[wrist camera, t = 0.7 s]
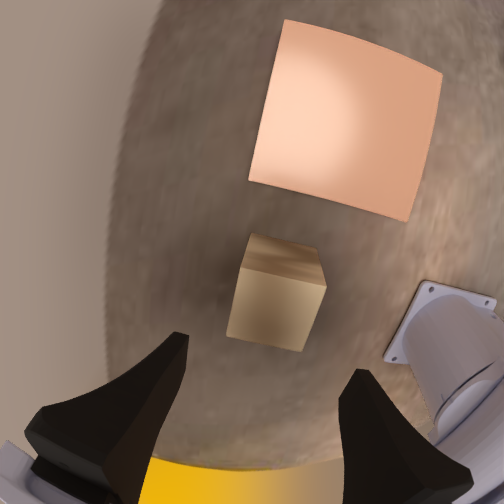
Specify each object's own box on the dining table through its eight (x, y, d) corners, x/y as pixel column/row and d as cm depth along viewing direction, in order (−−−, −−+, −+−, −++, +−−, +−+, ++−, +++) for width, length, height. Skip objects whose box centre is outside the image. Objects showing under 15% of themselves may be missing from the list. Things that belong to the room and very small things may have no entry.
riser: (429, 78, 15) (442, 74, 13) (396, 214, 18) (407, 222, 17) (284, 30, 15) (284, 19, 13) (251, 175, 18) (248, 180, 17)
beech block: (316, 247, 20) (326, 286, 15) (298, 303, 22) (301, 352, 17) (251, 232, 20) (240, 267, 15) (238, 290, 22) (225, 335, 17)
